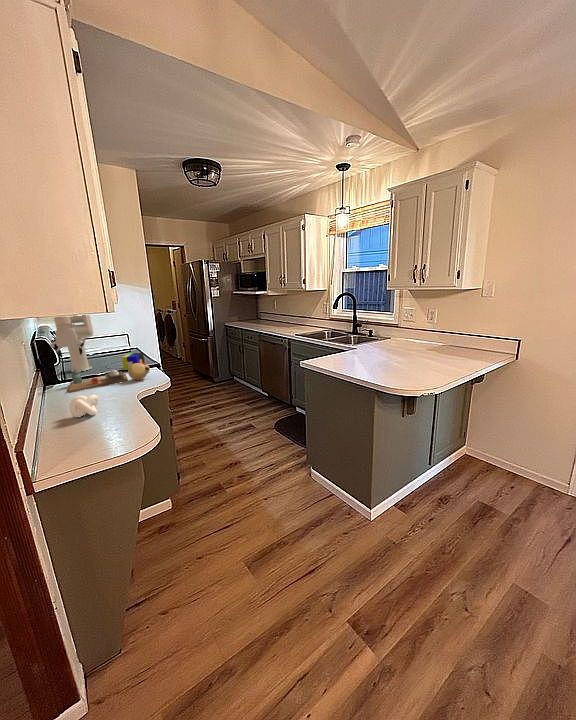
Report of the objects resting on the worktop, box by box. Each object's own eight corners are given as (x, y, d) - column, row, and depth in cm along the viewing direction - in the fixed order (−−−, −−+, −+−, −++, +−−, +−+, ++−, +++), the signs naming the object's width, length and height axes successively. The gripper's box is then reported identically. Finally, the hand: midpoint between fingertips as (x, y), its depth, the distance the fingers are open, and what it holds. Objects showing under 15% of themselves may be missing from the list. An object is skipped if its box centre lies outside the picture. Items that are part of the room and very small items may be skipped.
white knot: (66, 422, 143) (61, 403, 140) (77, 411, 154) (73, 394, 151) (93, 418, 144) (89, 400, 142) (103, 408, 156) (99, 391, 153)
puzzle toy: (138, 370, 216) (136, 356, 213) (124, 371, 216) (121, 357, 213) (145, 366, 225) (143, 352, 223) (131, 367, 226) (128, 353, 223)
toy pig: (152, 379, 195) (149, 363, 192) (130, 383, 190) (127, 366, 187) (150, 375, 203) (147, 359, 200) (129, 379, 198) (126, 362, 195)
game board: (71, 384, 195) (69, 377, 194) (125, 374, 210) (123, 367, 208) (69, 392, 180) (67, 385, 179) (128, 381, 195) (126, 374, 194)
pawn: (73, 382, 193) (70, 370, 191) (82, 380, 195) (79, 368, 193) (73, 384, 189) (70, 372, 187) (82, 382, 191) (79, 370, 189)
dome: (109, 376, 195) (107, 369, 194) (119, 374, 198) (117, 367, 197) (109, 378, 191) (108, 371, 190) (120, 376, 193) (118, 369, 192)
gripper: (82, 324, 190) (88, 352, 195) (46, 328, 182) (54, 357, 186) (81, 325, 184) (88, 354, 188) (45, 330, 175) (52, 360, 180)
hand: (71, 355), depth 187 cm, fingers open, 9 cm apart
